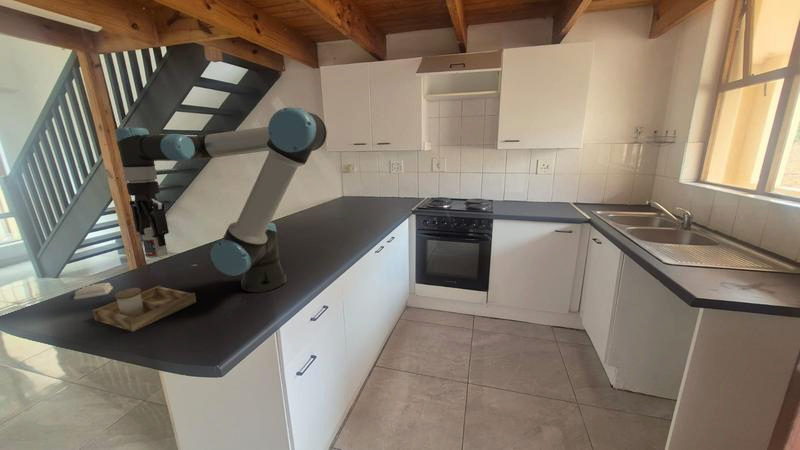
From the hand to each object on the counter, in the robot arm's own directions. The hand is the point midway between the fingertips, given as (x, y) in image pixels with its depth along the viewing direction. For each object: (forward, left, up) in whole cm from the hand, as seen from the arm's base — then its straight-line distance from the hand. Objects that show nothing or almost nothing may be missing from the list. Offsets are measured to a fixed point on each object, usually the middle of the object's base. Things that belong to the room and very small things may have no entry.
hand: (156, 254), depth 100 cm
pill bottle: (0, 0, 0) cm, 0 cm away
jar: (-4, +12, -15) cm, 19 cm away
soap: (+29, +5, -16) cm, 33 cm away
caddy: (-4, +8, -16) cm, 18 cm away
